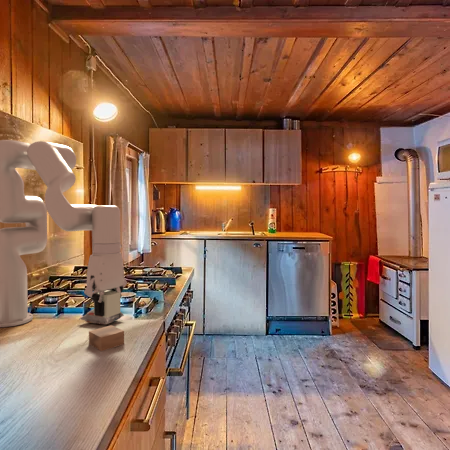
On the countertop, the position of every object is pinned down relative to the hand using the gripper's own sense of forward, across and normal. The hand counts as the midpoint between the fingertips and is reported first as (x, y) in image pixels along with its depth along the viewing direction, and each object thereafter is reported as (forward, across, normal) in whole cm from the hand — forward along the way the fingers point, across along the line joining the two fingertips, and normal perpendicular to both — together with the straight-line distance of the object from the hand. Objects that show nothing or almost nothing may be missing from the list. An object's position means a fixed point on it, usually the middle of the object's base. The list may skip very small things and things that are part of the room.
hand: (107, 312), depth 98 cm
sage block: (+1, 0, 0) cm, 1 cm away
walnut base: (+10, 0, 0) cm, 10 cm away
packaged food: (+10, -12, -16) cm, 22 cm away
